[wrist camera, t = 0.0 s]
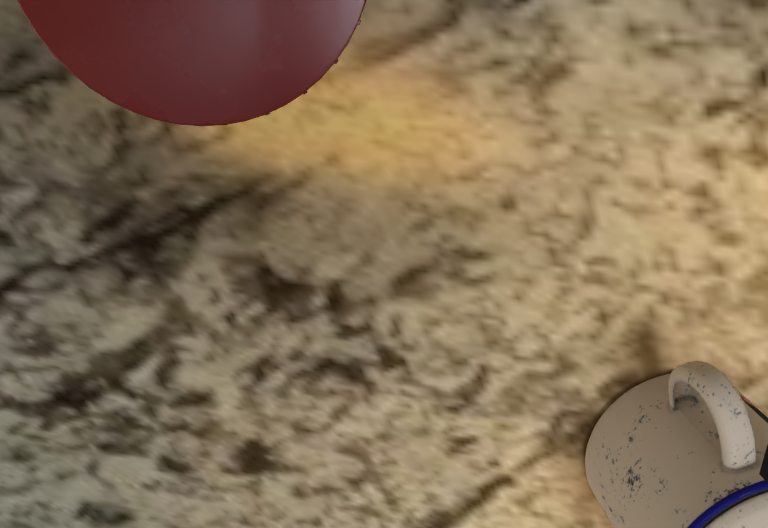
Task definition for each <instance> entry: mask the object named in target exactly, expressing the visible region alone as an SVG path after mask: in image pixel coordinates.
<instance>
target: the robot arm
mask: <svg viewBox="0 0 768 528" xmlns="http://www.w3.org/2000/svg"><path fill="white" fill-rule="evenodd" d="M759 474H760V476H761V477H762V478H763V479H764V480H765V481H766V482H767V483H768V444H767V448H766V451H765V455H764V458H763V462H762V465H761V469H760V473H759Z"/></svg>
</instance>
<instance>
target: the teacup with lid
mask: <svg viewBox="0 0 768 528" xmlns="http://www.w3.org/2000/svg"><path fill="white" fill-rule="evenodd" d="M767 444H768V418H767V417H766V416H765V415H764V414H763V413H762V412H761V411H760V410H758V409H757V408H756V407H755V406H754V405H753V404H752V403H751V402H750V401H749V400H747V399H746V398H745V397H744V396H743V395H742V394H741V393H740V392H739V391H738V390H736V389H735V387H734V386H733V384H732V383H731V382H730V381H729V380H728V378H727V377H726V376H725V375H724V374H722V373H721V372H720V371H719V370H718V369H716V368H715V367H713V366H712V365H710V364H708V363H705V362H701V361H692V362H688V363H685V364H682V365H679V366H677V367H676V368H675V369H674V370H673V371H672V372H671V374H666V375H662V376H658V377H655V378H653V379H650V380H647V381H645V382H643V383H641V384H639V385H637V386H635V387H633V388H632V389H630V390H629V391H627V392H626V393H624V394H623V395H622V396H620V397H619V398H618V399H617V400H616V401H615V402H614V403H612V404H611V406H610V407H609V408H608V409H607V410H606V411H605V412H604V414H603V415H602V416H601V418H600V419H599V421H598V422H597V424H596V425H595V427H594V429H593V431H592V433H591V436H590V438H589V441H588V445H587V449H586V456H585V470H586V476H587V480H588V483H589V485H590V488H591V490H592V492H593V493H594V495H595V497H596V498H597V500H598V502H599V503H600V505H601V507H602V509H603V510H604V512H605V514H606V515H607V517H608V519H609V520H610V522H611V524H612V525H613V527H614V528H768V483H767V482H766V481H765V480H764V479H763V478H762V477H761V476H760V474H759V473H760V469H761V465H762V462H763V458H764V455H765V451H766V448H767Z"/></svg>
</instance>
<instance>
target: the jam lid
mask: <svg viewBox="0 0 768 528" xmlns="http://www.w3.org/2000/svg"><path fill="white" fill-rule="evenodd" d="M17 1H18V3H19V5H20V7H21V9H22V11H23V13H24V14H25V16H26V18H27V19H28V21H29V23H30V24H31V26H32V27H33V29H34V31H35V32H36V34H37V35H38V36H39V38H40V39H41V40H42V41H43V43H44V44H45V45H46V47H47V48H48V49H49V50H50V52H51V53H52V54H53V55H54V56H55V57H56V58H57V59H58V60H59V61H60V62H61V63H62V64H63V65H64V66H65V67H66V68H67V69H68V70H69V71H70V72H71V73H72V74H73V75H74V76H76V77H77V78H78V79H79V80H81V81H82V82H83V83H84V84H86V85H87V86H88V87H89V88H91V89H92V90H94V91H95V92H97V93H99V94H100V95H102V96H103V97H105V98H106V99H108V100H110V101H111V102H113V103H115V104H118V105H120V106H122V107H124V108H126V109H128V110H130V111H132V112H135V113H138V114H141V115H144V116H146V117H149V118H152V119H155V120H160V121H165V122H170V123H174V124H181V125H193V126H214V125H228V124H232V123H237V122H243V121H247V120H250V119H253V118H256V117H260V116H263V115H268V114H270V112H272V111H274V110H276V109H278V108H281V107H283V106H285V105H286V104H288V103H290V102H291V101H293V100H294V99H296V98H297V97H299V96H300V95H302V94H305V93H307V90H308V89H309V88H310V87H312V86H313V85H314V84H315V83H316V82H317V81H319V80H320V79H321V78H322V77H323V75H324V74H325V73H326V72H327V71H328V70H329V69H330V68H331V66H332V65H333V64H334V63H335V64H336V63H337V62H338V57H339V56H340V55H341V53H342V52H343V50H344V49H345V47H346V46H347V44H348V43H349V41H350V39H351V37H352V35H353V33H354V31H355V29H356V27H357V25H359V24H360V22H361V20H360V17H361V14H362V11H363V8H364V6H365V3H366V0H17Z"/></svg>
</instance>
